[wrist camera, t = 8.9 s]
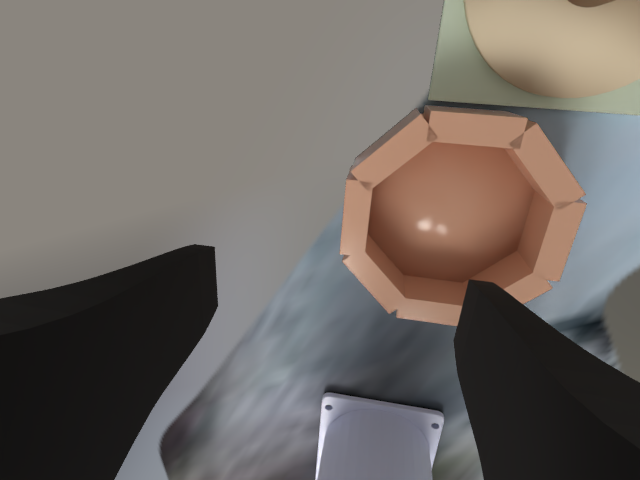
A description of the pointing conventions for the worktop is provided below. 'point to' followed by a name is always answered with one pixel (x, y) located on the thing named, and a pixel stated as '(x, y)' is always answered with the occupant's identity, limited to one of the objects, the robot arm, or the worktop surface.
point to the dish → (458, 211)
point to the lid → (558, 43)
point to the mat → (489, 88)
